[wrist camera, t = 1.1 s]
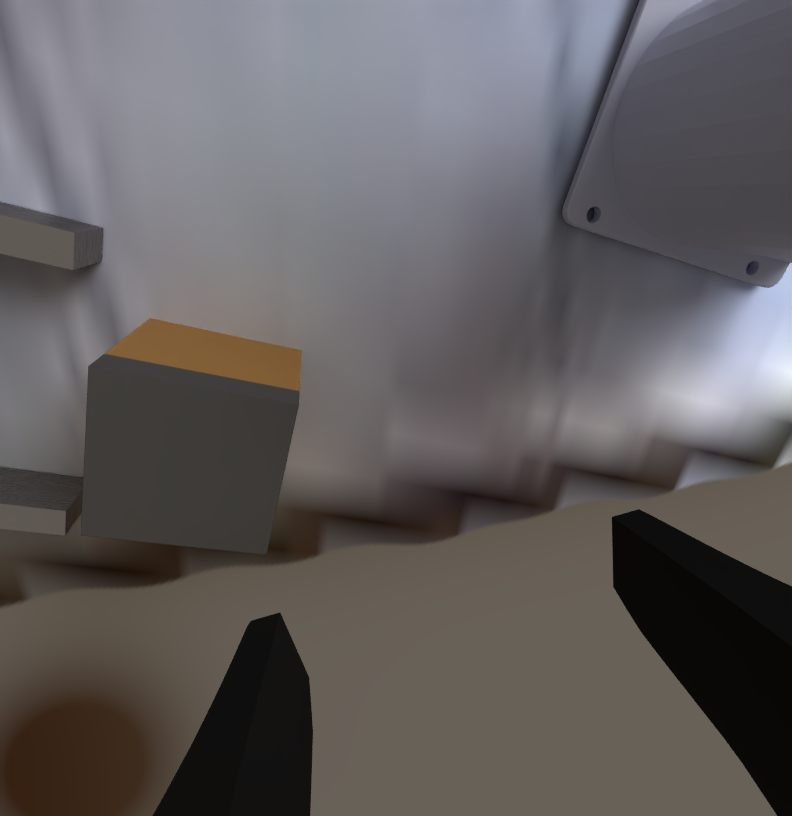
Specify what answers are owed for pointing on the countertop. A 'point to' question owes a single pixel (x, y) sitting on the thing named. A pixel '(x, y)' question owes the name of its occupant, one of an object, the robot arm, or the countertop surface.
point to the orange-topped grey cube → (188, 438)
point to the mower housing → (71, 249)
